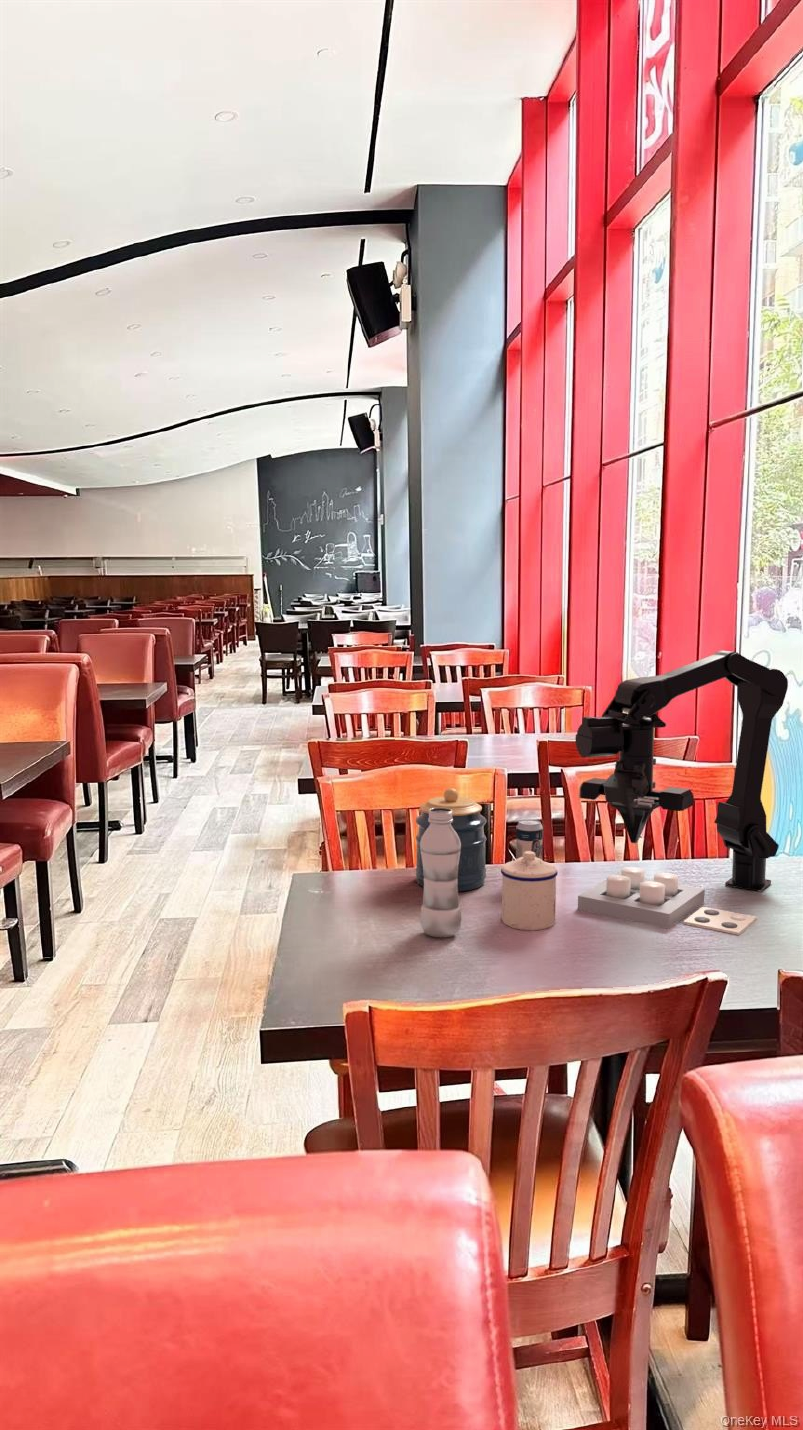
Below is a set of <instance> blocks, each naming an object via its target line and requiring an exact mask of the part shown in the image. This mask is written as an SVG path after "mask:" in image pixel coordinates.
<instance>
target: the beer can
mask: <svg viewBox="0 0 803 1430" xmlns="http://www.w3.org/2000/svg"><path fill="white" fill-rule="evenodd" d="M515 827H516V832H515V833H516V841H515V843H516V846H515V847H516V849H515V851H516V852H515V853H516V854H515V855H516V856H515V857H516V858H515V860H516V859H518V858H520V857H523V853H524V852H526V851H532V852H534V853H535V854H536V858H539V859H541V860H543V832H544V831H543V829H544V827H543V825H542V823H541V821H540V820H536V819H522V820H519V821H518V823H517V825H516V826H515Z"/></svg>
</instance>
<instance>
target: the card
mask: <svg viewBox="0 0 803 1430" xmlns="http://www.w3.org/2000/svg"><path fill="white" fill-rule="evenodd" d="M757 920H758V917H757V916H753V915H748V914H744V913H743V914H742V913H737V912H731V911H727V910H723V909H718V908H712V907H706V906H702V907H700V908H698V910H696V911H695V912H694V913H691V915H689V916H688V917H687V918H686V919H684V920H683V922H682V923H683V925H688V926H693V927H698V928H702V929H703V928H704V929H707V930H713V931H717V932H722V933H728V934H733V935H738V936H740V935H741V934H742V933H743V932H744V931H746V929H748V928H750V926H751V925H752V924H753V923H755V922H756V921H757Z"/></svg>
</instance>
